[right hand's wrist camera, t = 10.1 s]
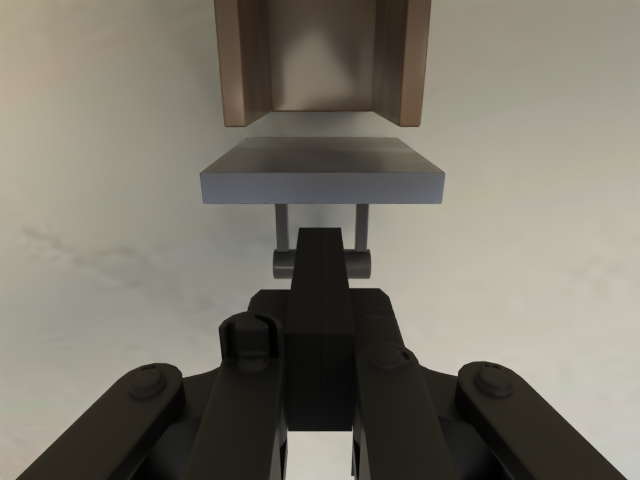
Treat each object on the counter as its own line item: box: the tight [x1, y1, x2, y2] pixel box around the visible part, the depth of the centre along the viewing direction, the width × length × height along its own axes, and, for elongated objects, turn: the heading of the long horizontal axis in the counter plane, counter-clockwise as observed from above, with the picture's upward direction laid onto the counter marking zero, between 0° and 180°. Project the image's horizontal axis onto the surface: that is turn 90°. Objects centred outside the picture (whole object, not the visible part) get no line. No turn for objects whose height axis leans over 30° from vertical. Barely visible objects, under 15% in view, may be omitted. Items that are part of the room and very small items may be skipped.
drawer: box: [200, 0, 445, 279], centre depth 18 cm, size 23×9×10 cm, turn 0°
